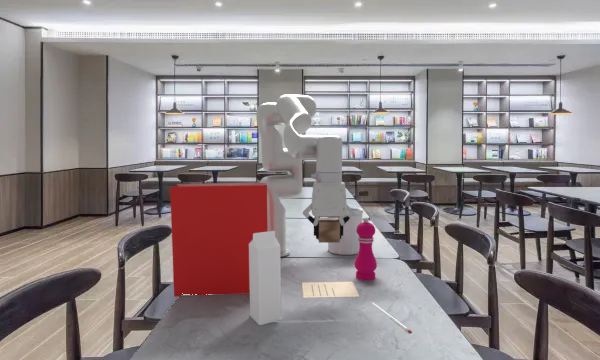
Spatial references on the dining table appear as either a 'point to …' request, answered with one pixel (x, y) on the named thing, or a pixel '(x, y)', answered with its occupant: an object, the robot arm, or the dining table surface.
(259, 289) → the milk
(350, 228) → the utensil holder
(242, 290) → the book
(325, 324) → the dining table surface
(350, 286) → the letter
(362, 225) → the pepper mill
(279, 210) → the robot arm
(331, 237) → the block
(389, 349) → the dining table surface
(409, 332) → the pencil
